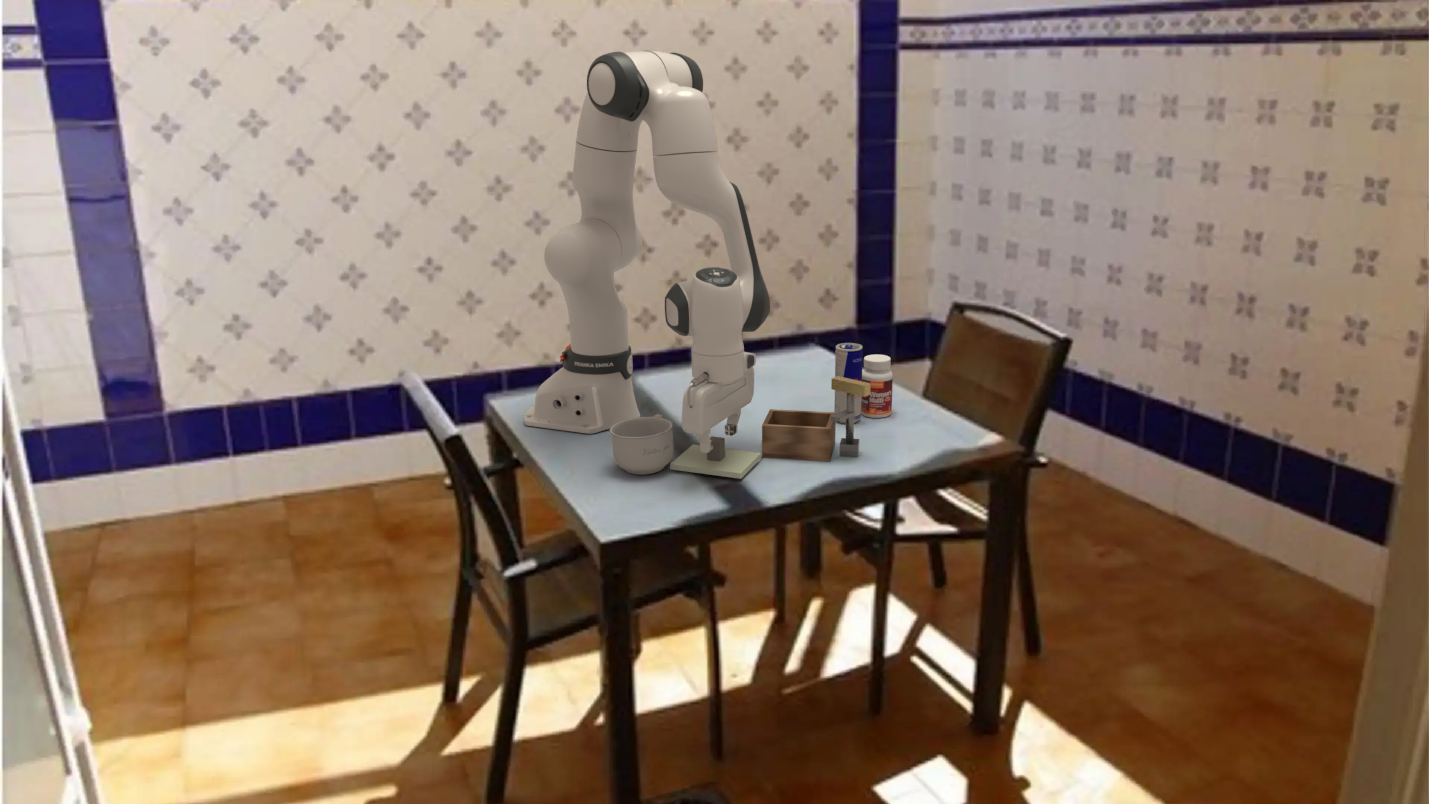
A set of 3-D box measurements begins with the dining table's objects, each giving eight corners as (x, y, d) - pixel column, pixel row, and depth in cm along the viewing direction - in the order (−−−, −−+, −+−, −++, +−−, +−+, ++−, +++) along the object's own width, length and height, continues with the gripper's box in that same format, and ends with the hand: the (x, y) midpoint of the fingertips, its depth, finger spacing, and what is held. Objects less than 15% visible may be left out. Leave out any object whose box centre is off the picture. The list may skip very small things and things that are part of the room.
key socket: (839, 455, 210) (839, 444, 209) (841, 449, 213) (841, 438, 212) (857, 456, 209) (857, 445, 209) (859, 450, 212) (859, 439, 212)
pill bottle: (869, 420, 228) (871, 364, 224) (854, 411, 233) (855, 355, 230) (897, 416, 230) (899, 359, 226) (881, 406, 235) (882, 352, 232)
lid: (670, 473, 204) (669, 444, 203) (693, 453, 213) (692, 426, 211) (740, 483, 199) (740, 453, 198) (761, 462, 208) (761, 434, 207)
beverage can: (859, 425, 225) (861, 349, 220) (832, 424, 226) (834, 348, 221) (862, 416, 230) (863, 342, 225) (835, 415, 231) (837, 341, 226)
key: (851, 452, 205) (852, 390, 202) (818, 443, 210) (819, 383, 206) (868, 444, 209) (870, 383, 205) (836, 435, 213) (837, 376, 210)
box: (762, 457, 210) (762, 425, 208) (770, 440, 218) (770, 409, 217) (829, 461, 208) (830, 429, 206) (835, 443, 216) (835, 412, 214)
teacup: (650, 484, 199) (649, 439, 196) (599, 472, 204) (597, 429, 202) (695, 458, 210) (694, 416, 208) (645, 448, 216) (644, 406, 213)
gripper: (705, 385, 190) (706, 465, 194) (760, 352, 207) (760, 427, 211) (671, 380, 193) (673, 459, 197) (728, 348, 210) (729, 422, 214)
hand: (719, 442), depth 204 cm, fingers open, 8 cm apart
